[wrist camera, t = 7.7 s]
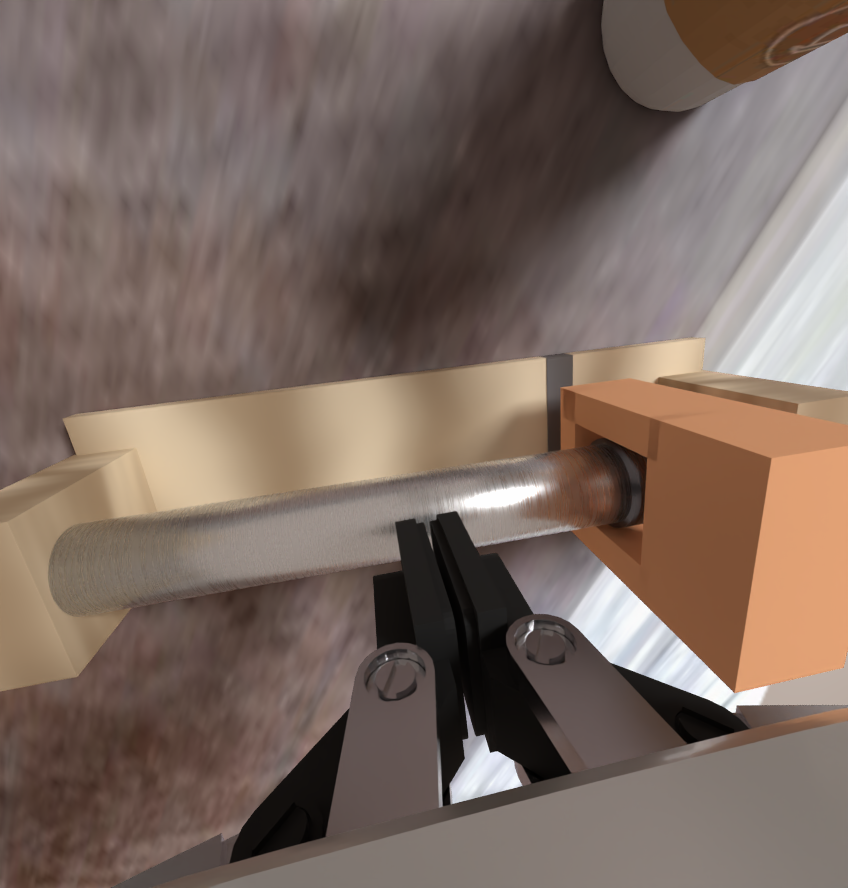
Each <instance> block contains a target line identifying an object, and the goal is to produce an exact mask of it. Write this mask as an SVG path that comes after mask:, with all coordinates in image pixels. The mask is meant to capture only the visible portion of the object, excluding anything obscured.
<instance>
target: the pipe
mask: <svg viewBox="0 0 848 888" xmlns="http://www.w3.org/2000/svg"><path fill="white" fill-rule="evenodd" d="M646 472H647V457H645V456H642V455H640V454H638V453H636V452H634V451H632V450H630V449H628V448H626V447H624V446H622V445H619V444H617V443H615V442H613V441H611V440H609V439H607V438H600V439H597V440H595V441H593V442H592V443H591V445H590V446H585V447H578V448H571V449H565V450H558V451H552V452H545V453H539V454H532V455H525V456H519V457H512V458H506V459H499V460H493V461H486V462H479V463H473V464H466V465H460V466H453V467H447V468H440V469H434V470H427V471H420V472H414V473H407V474H401V475H394V476H388V477H381V478H374V479H368V480H361V481H355V482H348V483H342V484H335V485H328V486H322V487H315V488H309V489H302V490H296V491H289V492H282V493H276V494H269V495H263V496H256V497H250V498H243V499H237V500H230V501H223V502H217V503H210V504H204V505H197V506H191V507H184V508H177V509H171V510H164V511H158V512H151V513H145V514H138V515H131V516H125V517H118V518H112V519H105V520H99V521H92V522H85V523H79V524H75V525H73V526H71V527H69V528H68V529H67V530H65V531H64V532H63V533H62V534H61V536H60V537H59V538H58V540H57V541H56V543H55V545H54V547H53V550H52V552H51V556H50V560H49V565H48V582H49V587H50V592H51V594H52V597H53V599H54V601H55V603H56V604H57V606H58V607H59V608H60V609H61V610H62V611H63V612H65V613H66V614H68V615H70V616H74V617H83V616H88V615H94V614H100V613H106V612H111V611H117V610H123V609H128V608H134V607H140V606H145V605H151V604H157V603H162V602H168V601H174V600H179V599H185V598H191V597H197V596H202V595H208V594H214V593H219V592H225V591H231V590H236V589H242V588H248V587H253V586H259V585H265V584H270V583H276V582H282V581H287V580H293V579H299V578H305V577H310V576H316V575H322V574H327V573H333V572H339V571H344V570H350V569H356V568H361V567H367V566H373V565H378V564H384V563H390V562H396V561H401V558H400V552H399V545H398V539H397V532H396V525H395V522H397V521H402V520H408V519H414V518H415V520H416V523H422V522H424V524H425V528H426V531H427V534H428V537H429V540H430V543H431V546H432V539H431V531H430V521H433V520H436V515H437V514H442V513H448V512H453V511H457V512H458V514H459V516H460V518H461V520H462V522H463V524H464V526H465V528H466V530H467V532H468V534H469V536H470V538H471V540H472V542H473V544H474V545H475V547H481V546H486V545H492V544H498V543H504V542H509V541H515V540H521V539H526V538H532V537H538V536H543V535H549V534H555V533H560V532H566V531H572V530H577V529H583V528H589V527H595V526H600V525H606V524H608V525H610V526H612V527H614V528H623V527H629V526H634V525H640V524H643V520H644V504H645V488H646ZM432 549H433V547H432Z"/></svg>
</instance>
